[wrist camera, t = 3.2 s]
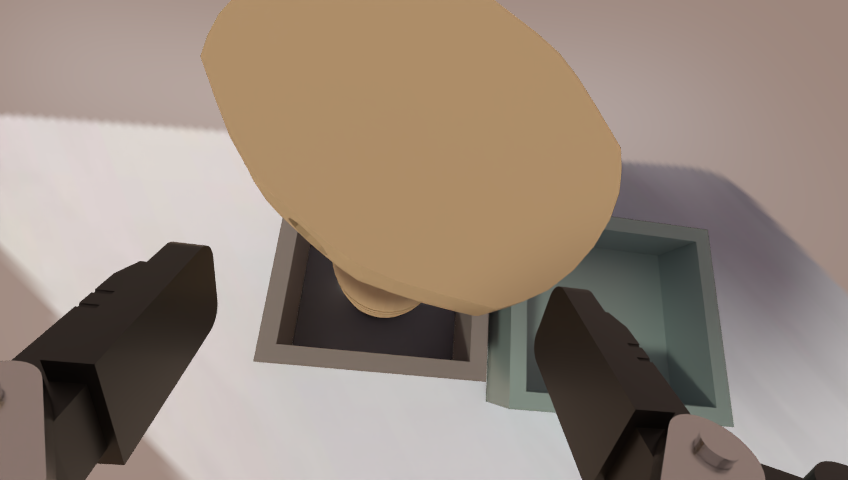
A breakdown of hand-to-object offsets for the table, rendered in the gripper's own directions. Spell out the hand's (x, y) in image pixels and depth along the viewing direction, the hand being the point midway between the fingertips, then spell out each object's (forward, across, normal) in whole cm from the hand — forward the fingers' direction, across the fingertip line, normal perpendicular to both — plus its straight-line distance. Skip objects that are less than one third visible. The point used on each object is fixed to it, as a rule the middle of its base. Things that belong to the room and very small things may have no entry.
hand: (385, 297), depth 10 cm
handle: (+9, 0, +6) cm, 11 cm away
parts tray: (+8, -11, +6) cm, 15 cm away
